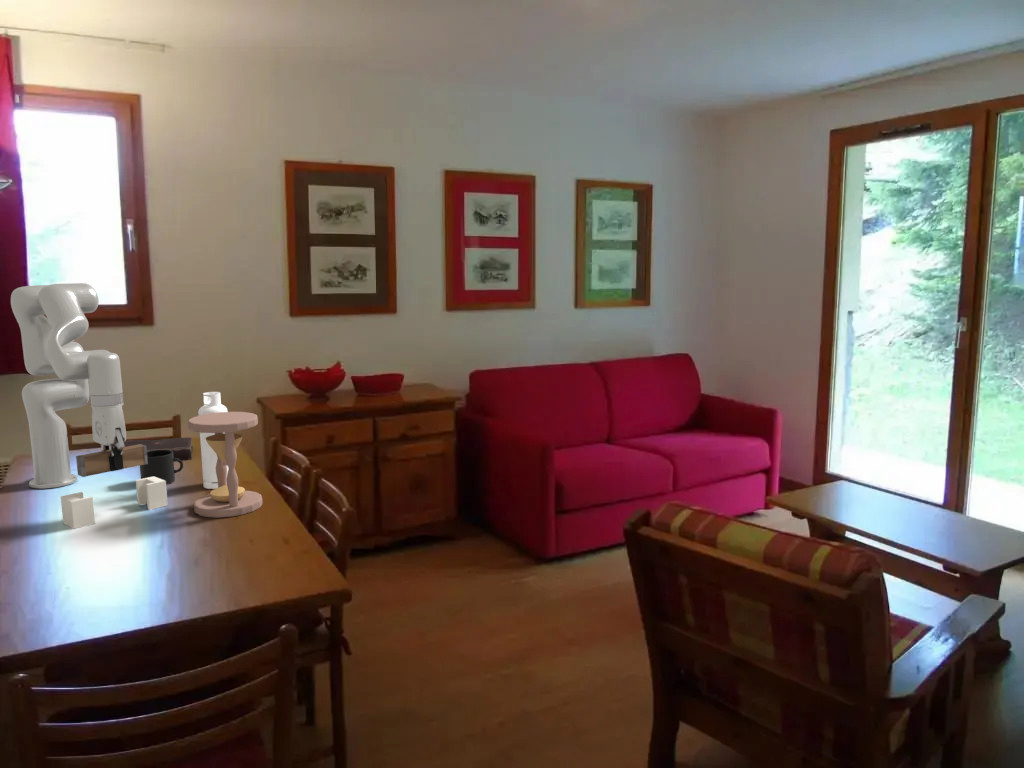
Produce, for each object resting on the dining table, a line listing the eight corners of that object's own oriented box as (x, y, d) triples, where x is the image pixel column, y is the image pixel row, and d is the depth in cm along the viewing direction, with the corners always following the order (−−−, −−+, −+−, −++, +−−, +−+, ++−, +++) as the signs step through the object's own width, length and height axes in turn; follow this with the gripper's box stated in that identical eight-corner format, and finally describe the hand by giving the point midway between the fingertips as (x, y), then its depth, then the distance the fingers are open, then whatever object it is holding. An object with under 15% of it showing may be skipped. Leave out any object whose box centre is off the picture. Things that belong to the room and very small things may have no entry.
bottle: (197, 487, 229) (190, 394, 224) (217, 479, 236) (211, 390, 231) (218, 490, 226) (212, 396, 221) (237, 482, 233) (232, 391, 228)
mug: (184, 483, 232) (182, 454, 231) (140, 488, 228) (137, 458, 226) (184, 475, 241) (182, 447, 239) (142, 479, 236) (139, 451, 235)
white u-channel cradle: (63, 522, 198) (60, 496, 197) (155, 500, 216) (153, 476, 215) (74, 528, 194) (71, 501, 192) (167, 505, 212) (165, 480, 211)
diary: (191, 462, 260) (190, 447, 259) (109, 469, 251) (107, 454, 250) (192, 448, 277) (191, 435, 276) (115, 455, 268) (114, 441, 267)
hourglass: (195, 501, 215) (189, 414, 211) (260, 494, 221) (256, 409, 217) (193, 521, 199) (186, 427, 195) (264, 513, 205) (259, 421, 201)
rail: (77, 474, 198) (75, 455, 197) (142, 461, 210) (140, 444, 209) (83, 477, 195) (81, 457, 195) (147, 463, 208) (146, 445, 207)
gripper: (79, 399, 202) (85, 466, 205) (105, 406, 192) (112, 477, 195) (108, 395, 208) (114, 461, 211) (136, 401, 197) (142, 471, 200)
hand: (113, 468), depth 203 cm, fingers closed on rail, 3 cm apart
